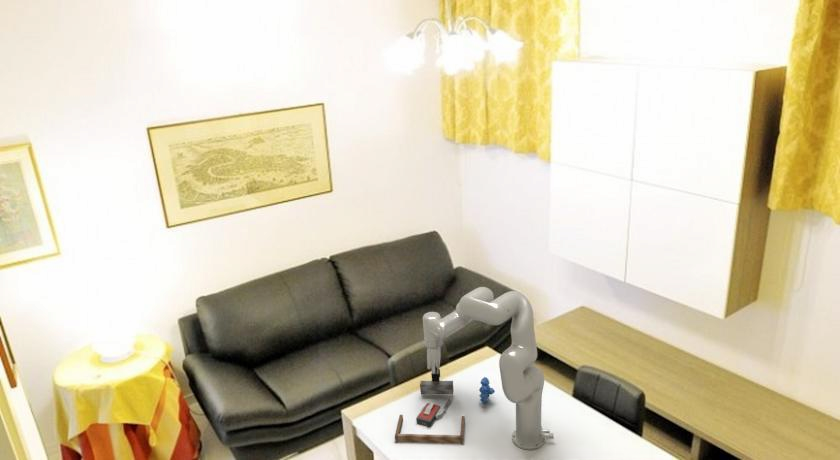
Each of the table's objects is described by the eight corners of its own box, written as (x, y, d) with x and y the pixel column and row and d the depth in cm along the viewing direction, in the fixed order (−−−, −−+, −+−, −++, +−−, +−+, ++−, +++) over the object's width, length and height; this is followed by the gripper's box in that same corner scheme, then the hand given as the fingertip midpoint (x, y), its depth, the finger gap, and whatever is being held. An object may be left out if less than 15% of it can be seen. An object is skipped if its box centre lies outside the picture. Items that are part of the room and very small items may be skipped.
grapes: (493, 411, 253) (493, 387, 249) (477, 410, 254) (476, 385, 250) (496, 395, 263) (496, 371, 259) (481, 394, 265) (480, 370, 261)
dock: (464, 422, 247) (464, 416, 246) (463, 444, 235) (463, 438, 234) (400, 420, 251) (399, 414, 250) (395, 442, 238) (394, 436, 237)
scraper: (453, 390, 265) (451, 364, 260) (453, 394, 262) (451, 368, 258) (421, 390, 266) (419, 364, 262) (420, 394, 264) (418, 368, 260)
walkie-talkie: (434, 430, 244) (452, 402, 261) (433, 421, 242) (452, 393, 259) (414, 426, 247) (433, 398, 264) (413, 416, 246) (433, 389, 263)
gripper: (426, 331, 264) (429, 369, 270) (422, 350, 249) (425, 390, 255) (443, 331, 263) (446, 369, 269) (440, 350, 248) (443, 390, 254)
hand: (436, 378), depth 262 cm, fingers closed on scraper, 2 cm apart
